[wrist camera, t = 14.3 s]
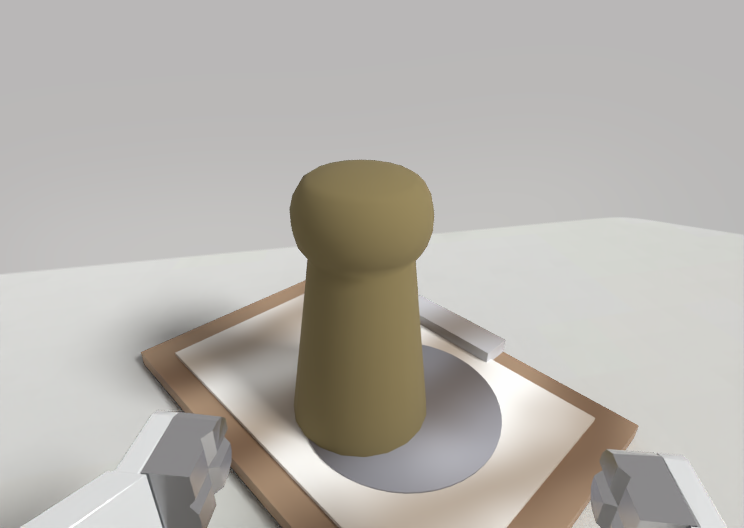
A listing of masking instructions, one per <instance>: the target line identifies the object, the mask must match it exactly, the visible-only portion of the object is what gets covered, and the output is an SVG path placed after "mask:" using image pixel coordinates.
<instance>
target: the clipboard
mask: <svg viewBox="0 0 744 528" xmlns="http://www.w3.org/2000/svg"><path fill="white" fill-rule="evenodd" d="M305 282H306V280H305V281H303V282H301V283H298V284H296V285H294V286H291V287H289V288H287V289H285V290H282V291H280V292H278V293H275V294H273V295H271V296H269V297H266V298H264V299H262V300H259V301H257V302H255V303H252V304H250V305H248V306H246V307H243V308H241V309H239V310H236V311H234V312H232V313H230V314H227V315H225V316H223V317H220V318H218V319H216V320H214V321H211V322H209V323H207V324H204V325H202V326H200V327H198V328H195V329H193V330H191V331H188V332H186V333H184V334H182V335H179V336H177V337H175V338H172V339H170V340H168V341H166V342H163V343H161V344H159V345H156V346H154V347H152V348H150V349H147V350H145V351H143V352H141V355H142V358H143V362H144V365H145V366H146V367H147V368H148V369H149V371H150V372H151V373H152V374H153V375H154V376H155V378H156V379H157V380H158V381H159V382H160V384H161V385H162V386H163V387H164V388H165V390H166V391H167V392H168V393H169V394H170V395H171V397H172V398H173V399H174V400H175V401H176V403H177V404H178V405H179V406H180V407H181V408H182V410H183V411H184V412H185V413H193V414H202V415H211V416H220V417H224V418H226V423H227V427H228V429H227V432H226V434H225V436H224V437H225V438H226V439H227V440H228V441H229V442H230V444H231V450H232V458H231V465H230V467H231V468H232V469H233V470H234V471H235V472H236V474H237V475H238V476H239V477H240V478H241V480H242V481H243V482H244V483H245V484H246V485H247V487H248V488H249V489H250V490H251V491H252V493H253V494H254V495H255V496H256V497H257V498H258V500H259V501H260V502H261V503H262V504H263V506H264V507H265V508H266V509H267V510H268V512H269V513H270V514H271V515H272V516H273V517H274V519H275V520H276V521H277V522H278V523H279V525H280V526H281V527H282V528H571V527H572V526H573V524H574V523H575V521H576V520H577V519H578V517H579V516H580V514H581V513H582V511H583V510H584V509H585V507H586V506H587V504H588V503H589V501H590V500H591V484H592V481H593V478H594V475H596V474H597V473H599V472H600V471H602V467H601V465H600V462H599V460H600V458H601V455H602V453H603V452H604V451H605V450H606V449H612V450H626V448H627V447H628V446H629V444H630V443H631V441H632V440H633V438H634V436H635V434H636V431H637V429H638V425H636V424H635V423H633V422H631V421H629V420H627V419H625V418H624V417H622V416H620V415H618V414H616V413H614V412H613V411H611V410H609V409H607V408H605V407H603V406H602V405H600V404H598V403H596V402H594V401H592V400H591V399H589V398H587V397H585V396H583V395H581V394H580V393H578V392H576V391H574V390H572V389H570V388H569V387H567V386H565V385H563V384H561V383H559V382H558V381H556V380H554V379H552V378H550V377H548V376H547V375H545V374H543V373H541V372H539V371H537V370H536V369H534V368H532V367H530V366H528V365H526V364H525V363H523V362H521V361H519V360H517V359H515V358H514V357H512V356H510V355H508V354H506V353H504V352H503V350H504V345H505V339H503V338H501V337H499V336H497V335H495V334H493V333H491V332H489V331H488V330H486V329H484V328H482V327H480V326H478V325H476V324H474V323H472V322H470V321H468V320H467V319H465V318H463V317H461V316H459V315H457V314H455V313H453V312H451V311H449V310H448V309H446V308H444V307H442V306H440V305H438V304H436V303H434V302H432V301H430V300H429V299H427V298H425V297H423V296H421V295H418V300H419V313H420V327H421V340H422V353H423V366H424V380H425V393H426V417H425V419H424V422H423V424H422V426H421V429H420V430H419V431H418V432H417V434H416V435H415V436H414V437H413V438H412V439H411V440H410V441H409V442H408V443H406V444H405V445H403V446H401V447H399V448H397V449H395V450H393V451H391V452H389V453H385V454H380V455H374V456H369V457H356V456H343V455H339V454H336V453H334V452H331V451H328V450H325V449H323V448H320V447H319V446H318V445H316V444H315V443H314V442H312V441H311V440H310V439H309V438H307V437H306V436H305V435H304V433H303V432H302V430H301V428H300V427H299V425H298V424H297V422H296V419H295V411H294V397H295V386H296V376H297V365H298V355H299V344H300V334H301V323H302V313H303V302H304V292H305Z"/></svg>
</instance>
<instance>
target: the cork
mask: <svg viewBox="0 0 744 528" xmlns="http://www.w3.org/2000/svg"><path fill="white" fill-rule="evenodd" d="M290 219H291V226H292V231H293V235H294V238H295V241H296V244H297V246H298V249H299V250H300V251H301V252H302V253H303V254H304V256H305V257H306V258H307V259H308V261H307V271H306V282H305V292H304V302H303V313H302V323H301V334H300V344H299V355H298V365H297V376H296V386H295V397H294V411H295V419H296V422H297V424H298V425H299V427H300V428H301V430H302V432H303V433H304V435H305V436H306V437H307V438H309V439H310V440H311V441H312V442H314V443H315V444H316V445H318V446H319V447H320V448H323V449H325V450H328V451H331V452H334V453H336V454H339V455H343V456H356V457H369V456H374V455H380V454H385V453H389V452H391V451H393V450H395V449H397V448H399V447H401V446H403V445H405V444H406V443H408V442H409V441H410V440H411V439H412V438H413V437H414V436H415V435H416V434H417V432H418V431H419V430H420V429H421V426H422V424H423V422H424V419H425V417H426V393H425V380H424V366H423V353H422V340H421V327H420V313H419V300H418V287H417V273H416V260H417V259H418V258H419V257H420V256H421V254H422V253H423V251H424V250H425V249H426V247H427V245H428V243H429V240H430V237H431V235H432V231H433V222H434V209H433V202H432V197H431V193H430V191H429V189H428V187H427V185H426V183H425V182H424V180H423V179H422V178H421V177H420V176H419V175H418V174H416V173H414V172H413V171H411V170H409V169H407V168H405V167H403V166H400V165H396V164H393V163H389V162H382V161H375V160H346V161H339V162H333V163H329V164H326V165H323V166H319V167H318V168H316V169H314V170H313V171H311V172H309V173H308V174H306V175H304V176H303V178H302V179H301V181H300V183H299V185H298V186H297V188H296V190H295V192H294V193H293V195H292V200H291V206H290Z"/></svg>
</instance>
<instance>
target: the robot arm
mask: <svg viewBox="0 0 744 528" xmlns="http://www.w3.org/2000/svg"><path fill="white" fill-rule="evenodd" d="M227 429H228V427H227V423H226V418H224V417H220V416H211V415H202V414H193V413H184V412H173V411H163V410H157V411H156V412H154V413H153V414H152V415H151V416H150V417H149V419H148V420H147V422H146V423H145V425H144V426H143V428H142V429H141V431H140V433H139V434H138V436H137V437H136V439H135V440H134V442H133V443H132V445H131V446H130V448H129V449H128V451H127V452H126V454H125V455H124V457H123V458H122V460H121V461H120V463H119V465H118V466H117V468H116V469H115V471H106V472H105V473H103V474H102V475H100V476H99V477H97V478H95V479H94V480H92V481H91V482H89V483H88V484H86V485H85V486H83V487H82V488H80V489H78V490H77V491H75V492H74V493H72V494H71V495H69V496H68V497H66V498H65V499H63V500H61V501H60V502H58V503H57V504H55V505H54V506H52V507H51V508H49V509H48V510H46V511H44V512H43V513H41V514H40V515H38V516H37V517H35V518H34V519H32V520H31V521H29V522H27V523H26V524H24V525H23V526H21V527H20V528H207V526H208V524H209V522H210V519H211V517H212V514H213V512H214V509H215V507H216V502H215V497H214V494H215V493H217V492H218V491H219V490H220V489H222V488H223V487H224V485H225V482H226V480H227V477H228V475H229V470H230V465H231V458H232V450H231V444H230V442H229V441H228V440H227V439H226V438H225V437H224V436H225V434H226V432H227ZM599 462H600V465H601V467H602V471H600V472H599V473H597V474H596V475H594V478H593V481H592V484H591V505H592V511H593V514H594V517H595V521H596V523H597V524H598V525H599V526H600V527H601V528H728V527H727V526H726V524H725V522H724V521H723V519H722V517H721V515H720V514H719V512H718V510H717V508H716V507H715V505H714V503H713V501H712V500H711V498H710V496H709V495H708V493H707V491H706V489H705V488H704V486H703V484H702V482H701V481H700V479H699V477H698V475H697V474H696V472H695V470H694V469H693V467H692V465H691V463H690V462H689V460H688V459H687V458H686V457H685V456H683V455H674V454H662V453H653V452H639V451H626V450H612V449H606V450H605V451H604V452H603V453H602V455H601V458H600V460H599Z"/></svg>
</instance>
